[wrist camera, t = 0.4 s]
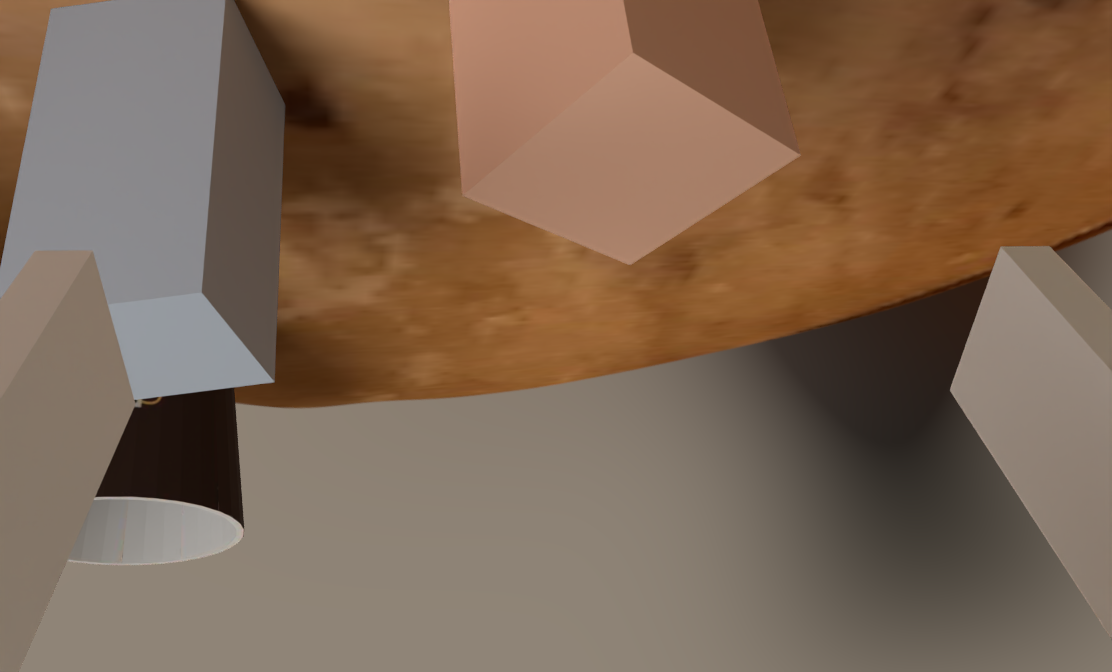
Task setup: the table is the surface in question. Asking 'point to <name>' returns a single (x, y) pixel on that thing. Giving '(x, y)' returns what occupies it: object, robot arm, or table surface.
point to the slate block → (161, 185)
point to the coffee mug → (168, 485)
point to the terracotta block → (615, 113)
